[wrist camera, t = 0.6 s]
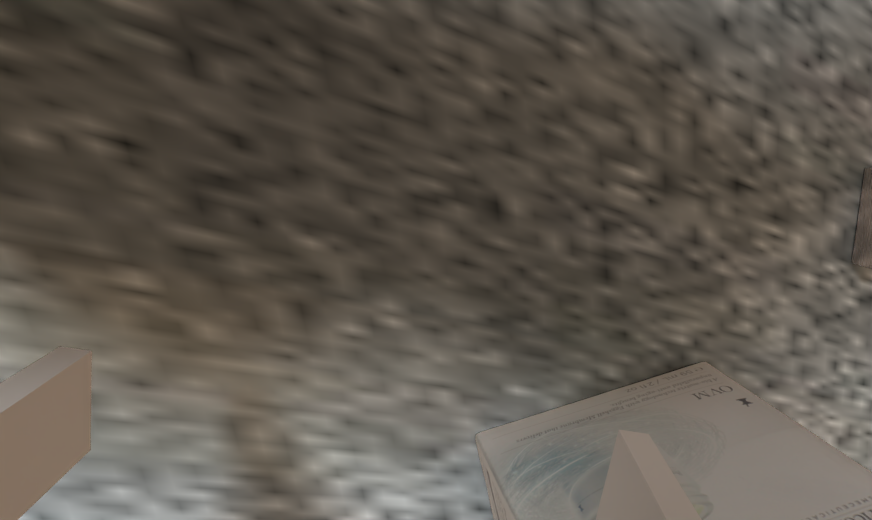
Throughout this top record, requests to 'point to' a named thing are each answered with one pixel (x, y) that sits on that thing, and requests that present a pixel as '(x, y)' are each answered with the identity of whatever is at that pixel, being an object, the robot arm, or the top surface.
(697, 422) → the skincare box
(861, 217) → the block
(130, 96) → the top surface
